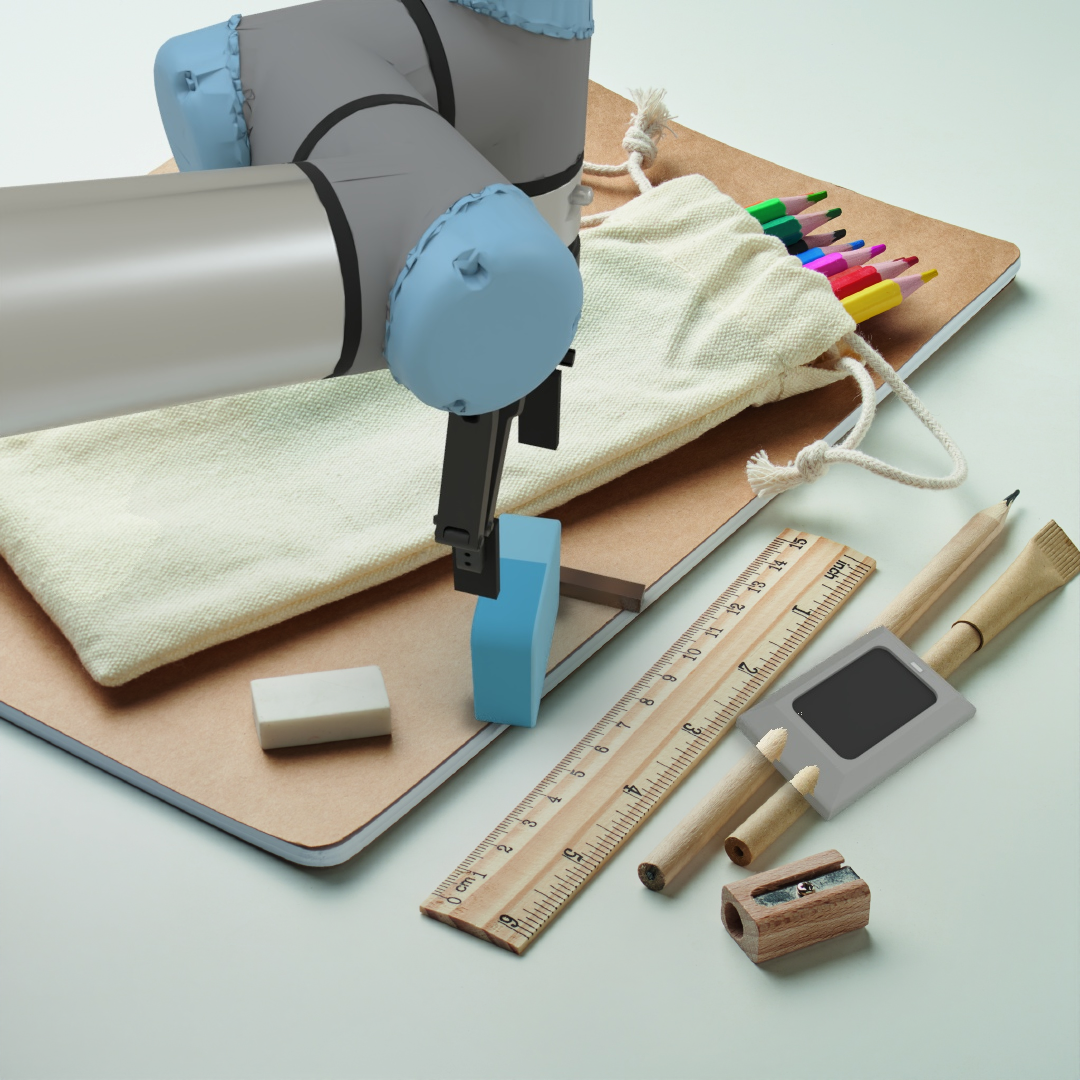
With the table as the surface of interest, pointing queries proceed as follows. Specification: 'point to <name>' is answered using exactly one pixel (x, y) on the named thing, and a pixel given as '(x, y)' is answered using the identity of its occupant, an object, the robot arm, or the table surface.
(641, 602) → the bar
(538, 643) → the light blue thick block
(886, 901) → the table surface
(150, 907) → the table surface
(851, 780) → the grey badge holder
